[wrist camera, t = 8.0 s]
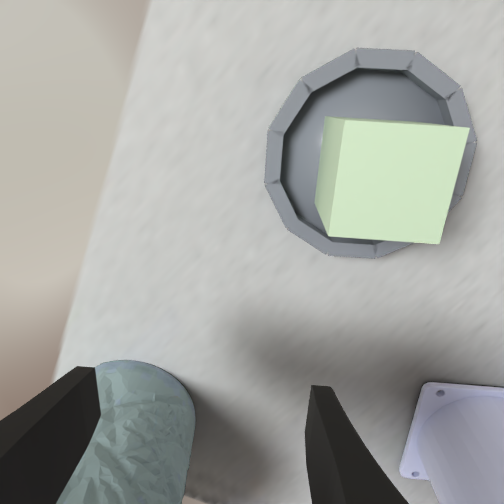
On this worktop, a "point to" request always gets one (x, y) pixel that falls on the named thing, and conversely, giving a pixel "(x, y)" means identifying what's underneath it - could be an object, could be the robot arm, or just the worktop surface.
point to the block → (387, 178)
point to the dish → (355, 106)
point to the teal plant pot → (136, 439)
